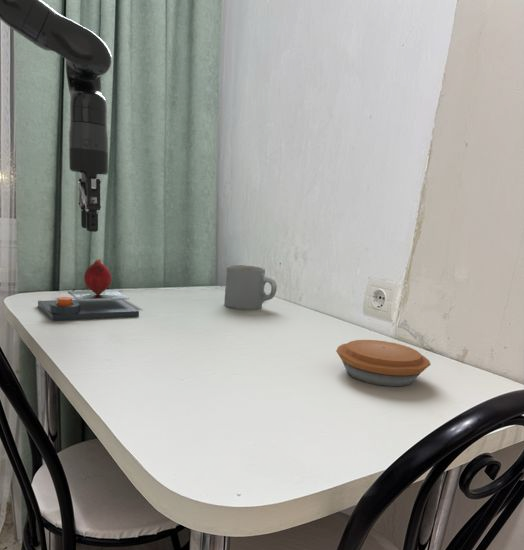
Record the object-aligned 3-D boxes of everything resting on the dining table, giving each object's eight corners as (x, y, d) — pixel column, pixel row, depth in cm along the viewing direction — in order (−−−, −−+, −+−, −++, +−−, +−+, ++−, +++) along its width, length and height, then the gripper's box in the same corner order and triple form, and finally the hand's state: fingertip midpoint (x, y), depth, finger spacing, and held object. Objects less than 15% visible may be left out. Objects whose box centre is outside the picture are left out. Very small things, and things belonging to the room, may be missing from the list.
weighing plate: (78, 300, 108) (78, 299, 108) (68, 292, 115) (68, 291, 115) (129, 299, 114) (129, 297, 114) (115, 291, 121) (115, 290, 121)
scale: (53, 322, 101) (52, 307, 100) (37, 306, 112) (37, 293, 111) (139, 317, 111) (139, 304, 110) (117, 304, 122) (117, 291, 121)
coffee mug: (217, 305, 131) (219, 266, 129) (235, 300, 140) (238, 264, 137) (263, 313, 126) (266, 273, 123) (279, 308, 135) (283, 270, 132)
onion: (111, 297, 112) (111, 261, 110) (83, 296, 111) (83, 259, 109) (111, 292, 118) (111, 257, 115) (85, 291, 116) (85, 256, 114)
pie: (360, 356, 97) (364, 330, 95) (439, 378, 88) (445, 350, 86) (316, 371, 85) (320, 343, 84) (403, 399, 76) (408, 368, 75)
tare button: (59, 307, 102) (59, 299, 102) (56, 304, 104) (55, 297, 104) (73, 306, 104) (73, 299, 103) (70, 304, 106) (70, 296, 106)
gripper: (113, 149, 99) (113, 233, 103) (102, 152, 111) (102, 228, 115) (73, 144, 95) (74, 231, 100) (65, 148, 108) (67, 226, 112)
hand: (89, 229), depth 108 cm, fingers open, 8 cm apart
